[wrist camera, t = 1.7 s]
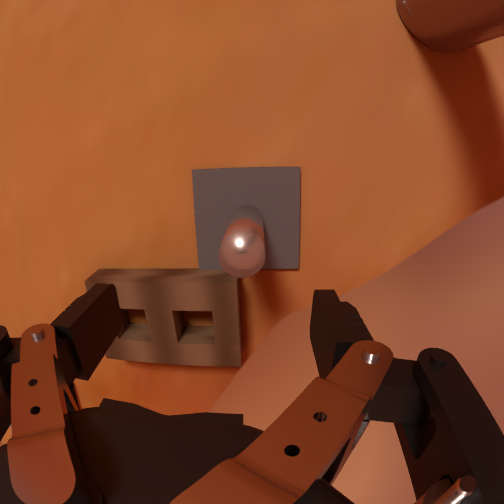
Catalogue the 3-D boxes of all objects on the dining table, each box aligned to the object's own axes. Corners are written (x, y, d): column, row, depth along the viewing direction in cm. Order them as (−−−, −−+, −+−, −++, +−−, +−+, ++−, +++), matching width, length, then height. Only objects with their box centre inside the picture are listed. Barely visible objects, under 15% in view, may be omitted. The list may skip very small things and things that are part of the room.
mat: (299, 166, 28) (300, 167, 27) (298, 267, 31) (298, 268, 30) (193, 170, 28) (192, 170, 27) (200, 268, 31) (199, 269, 31)
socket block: (238, 268, 31) (236, 282, 28) (242, 347, 34) (241, 366, 31) (99, 268, 31) (84, 281, 28) (117, 341, 35) (106, 357, 31)
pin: (262, 204, 28) (265, 232, 19) (263, 235, 29) (265, 277, 20) (230, 205, 28) (216, 233, 19) (232, 235, 29) (219, 278, 20)
